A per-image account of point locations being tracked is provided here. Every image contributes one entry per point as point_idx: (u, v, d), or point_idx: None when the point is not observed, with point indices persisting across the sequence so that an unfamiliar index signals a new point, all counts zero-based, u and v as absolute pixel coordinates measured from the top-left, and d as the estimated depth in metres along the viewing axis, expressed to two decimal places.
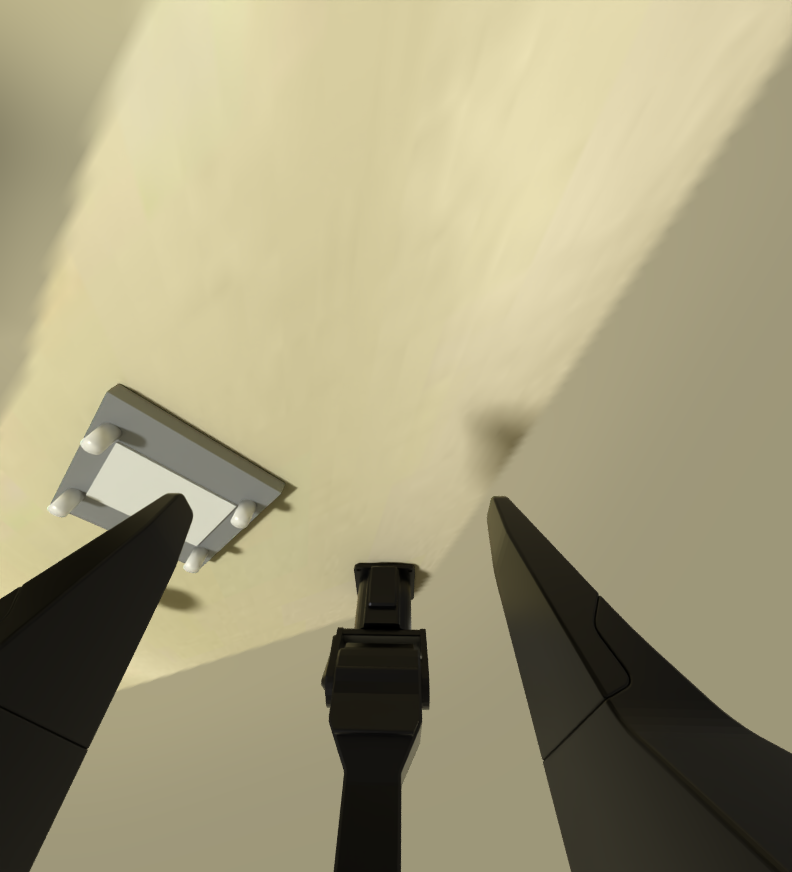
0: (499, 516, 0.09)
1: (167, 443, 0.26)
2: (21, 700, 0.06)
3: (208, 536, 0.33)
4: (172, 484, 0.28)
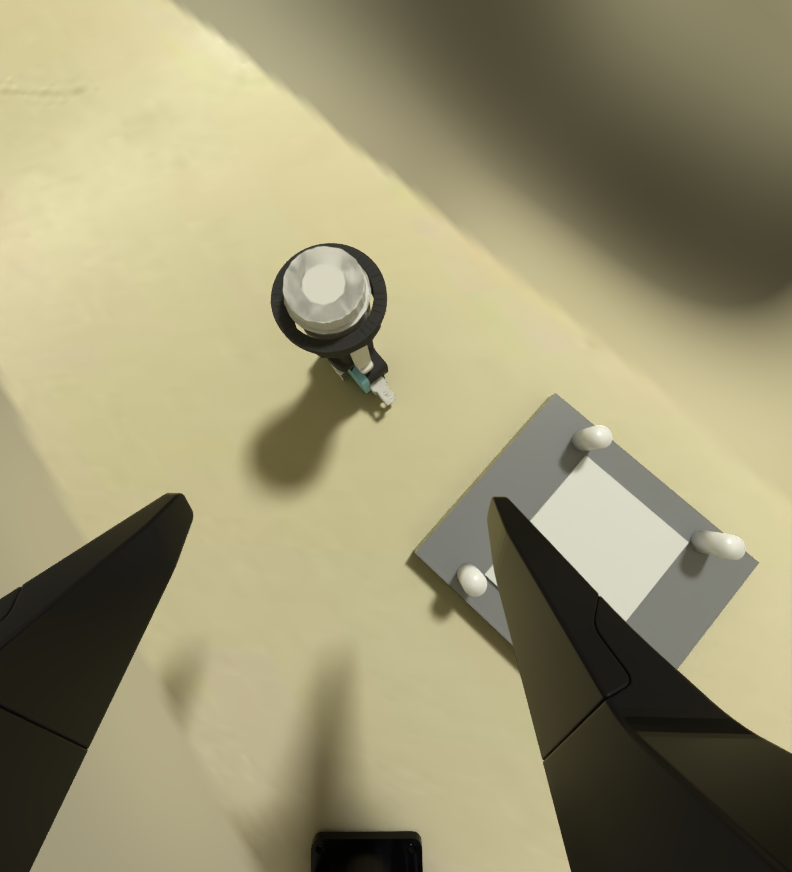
0: (499, 516, 0.09)
1: (691, 605, 0.21)
2: (21, 700, 0.06)
3: None
4: (622, 587, 0.21)
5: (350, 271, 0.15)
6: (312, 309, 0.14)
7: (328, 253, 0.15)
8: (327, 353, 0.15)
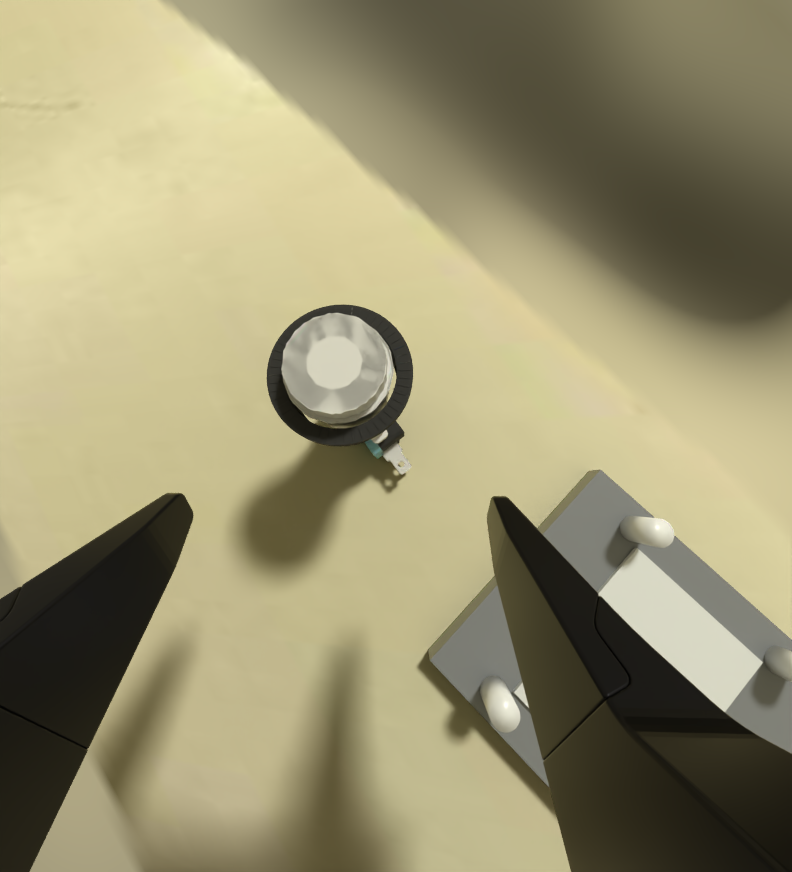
0: (499, 516, 0.09)
1: None
2: (21, 700, 0.06)
3: None
4: None
5: (369, 347, 0.11)
6: (318, 395, 0.11)
7: (341, 322, 0.12)
8: (335, 445, 0.12)
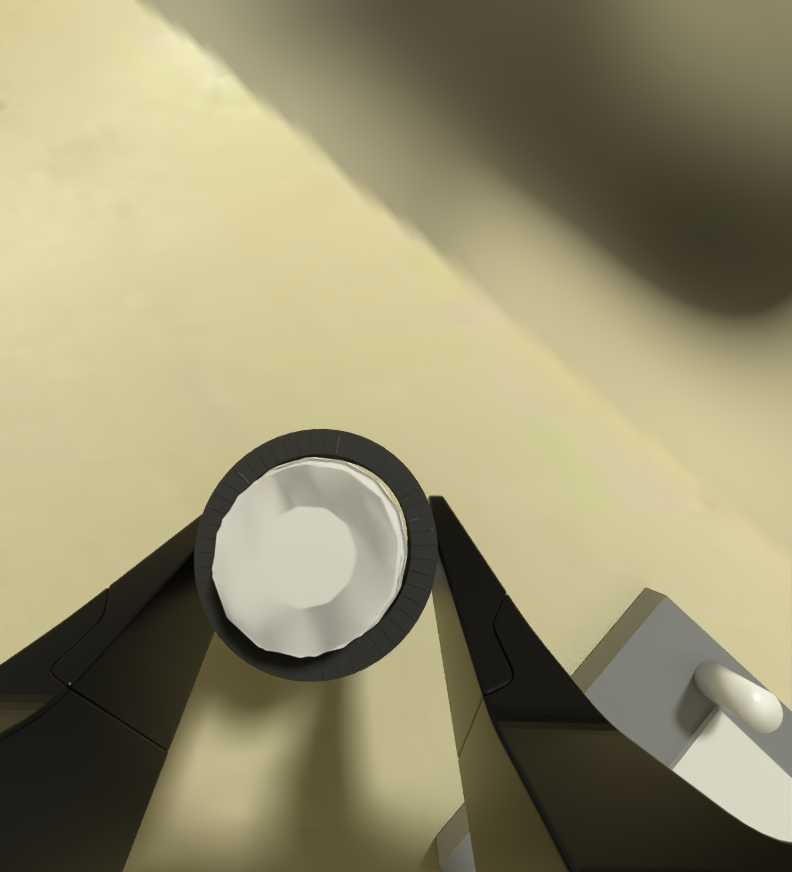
0: None
1: None
2: (119, 702, 0.06)
3: None
4: None
5: (368, 527, 0.07)
6: (277, 621, 0.06)
7: (321, 480, 0.07)
8: None
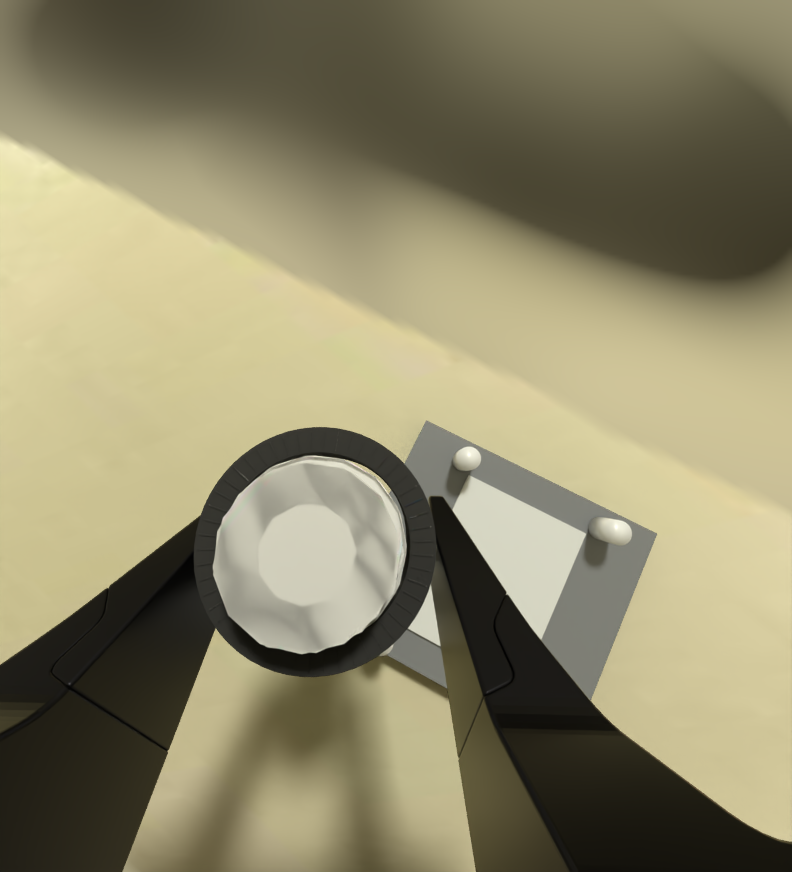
0: None
1: (604, 594, 0.21)
2: (119, 702, 0.06)
3: (425, 640, 0.21)
4: (534, 597, 0.21)
5: (368, 526, 0.07)
6: (278, 618, 0.06)
7: (321, 479, 0.07)
8: (308, 671, 0.07)
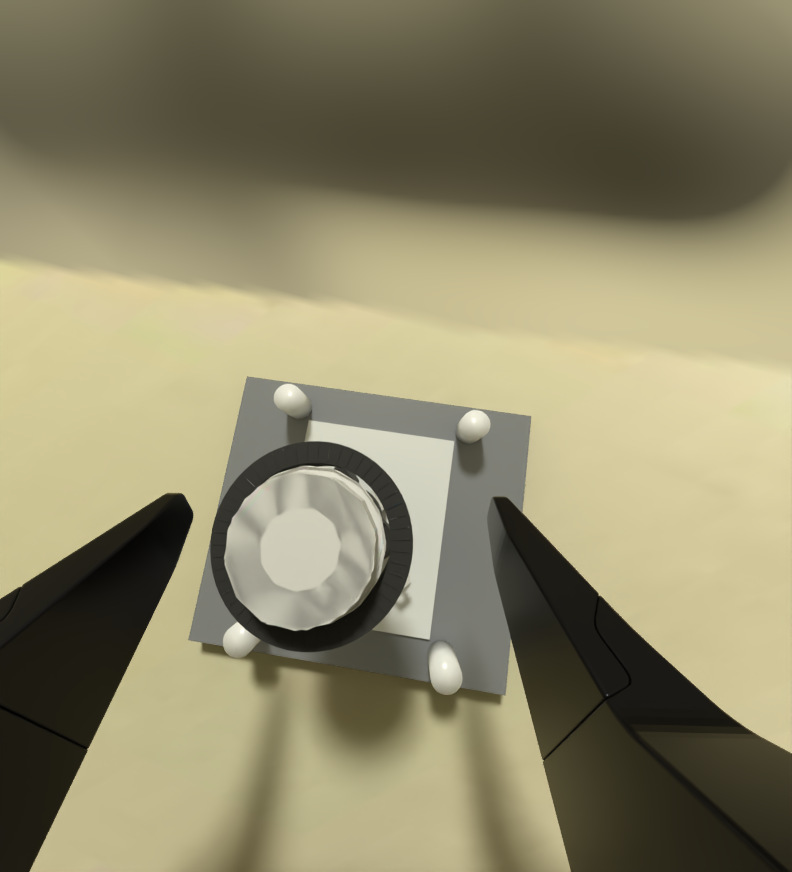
0: (499, 516, 0.09)
1: None
2: (21, 700, 0.06)
3: None
4: (417, 530, 0.18)
5: (350, 525, 0.08)
6: (276, 601, 0.08)
7: (312, 486, 0.08)
8: None
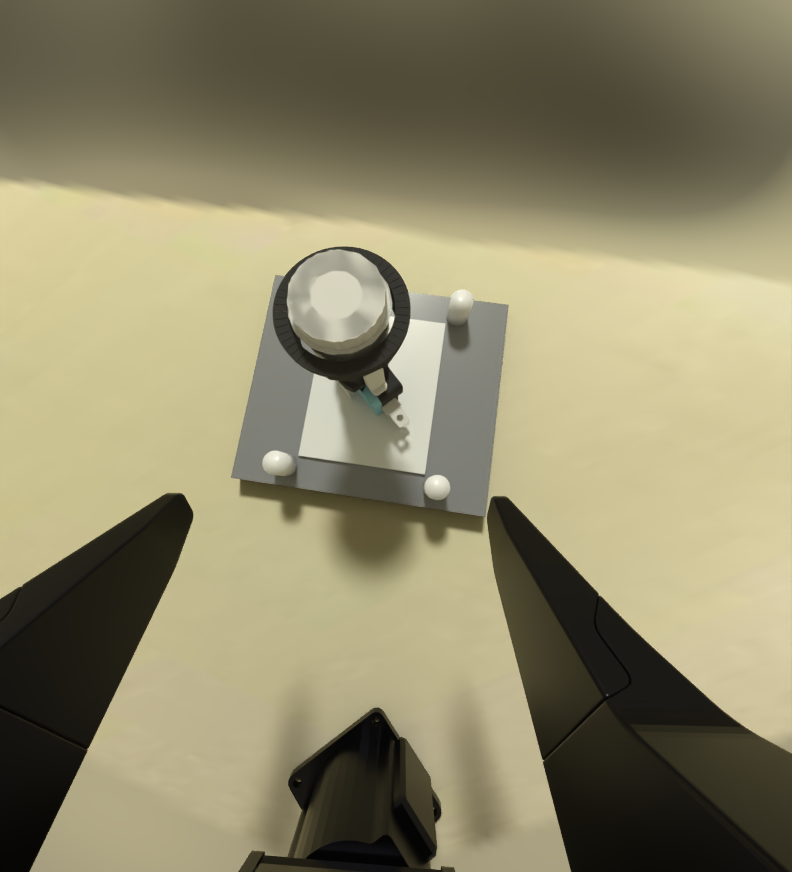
0: (499, 516, 0.09)
1: (477, 370, 0.22)
2: (21, 700, 0.06)
3: (329, 463, 0.21)
4: (415, 391, 0.22)
5: (369, 281, 0.12)
6: (321, 325, 0.12)
7: (343, 258, 0.12)
8: (337, 377, 0.13)
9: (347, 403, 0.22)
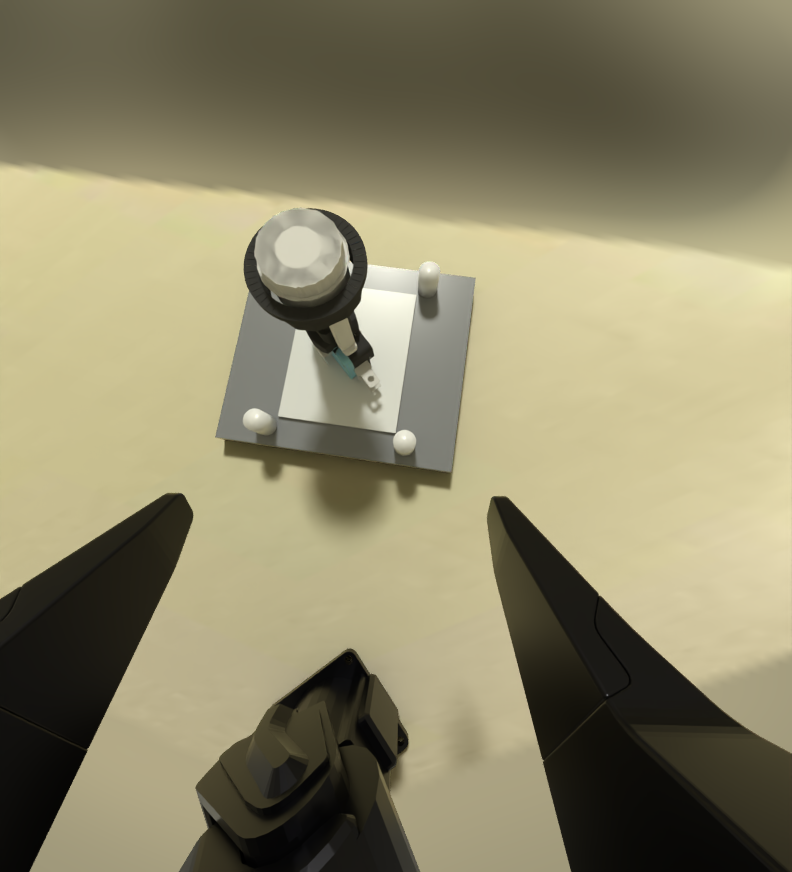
0: (499, 516, 0.09)
1: (445, 338, 0.24)
2: (21, 700, 0.06)
3: (306, 423, 0.23)
4: (387, 357, 0.23)
5: (327, 235, 0.14)
6: (284, 272, 0.14)
7: (305, 215, 0.14)
8: (300, 322, 0.14)
9: (324, 368, 0.23)
